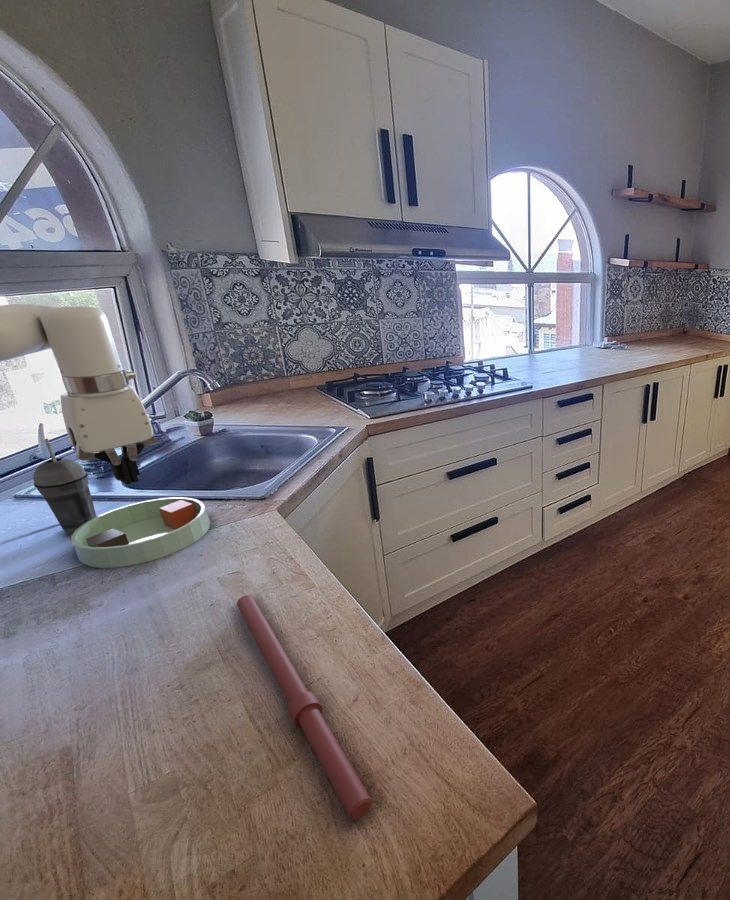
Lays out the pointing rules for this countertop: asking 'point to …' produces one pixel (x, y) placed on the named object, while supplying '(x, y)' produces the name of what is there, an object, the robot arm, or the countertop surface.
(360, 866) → the countertop surface
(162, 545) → the bowl
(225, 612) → the countertop surface
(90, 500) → the beverage cup
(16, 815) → the countertop surface
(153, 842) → the countertop surface
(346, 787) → the rolling pin
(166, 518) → the terracotta block
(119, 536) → the walnut block
